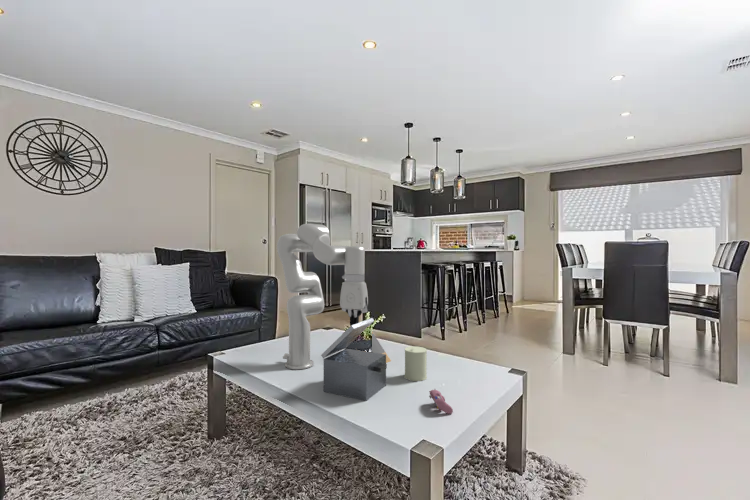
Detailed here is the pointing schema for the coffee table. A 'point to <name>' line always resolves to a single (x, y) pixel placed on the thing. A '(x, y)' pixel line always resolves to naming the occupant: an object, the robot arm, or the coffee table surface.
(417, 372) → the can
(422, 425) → the coffee table surface
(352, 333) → the lid
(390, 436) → the coffee table surface
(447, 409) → the pink toy animal
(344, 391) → the grey storage box
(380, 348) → the sandwich container
